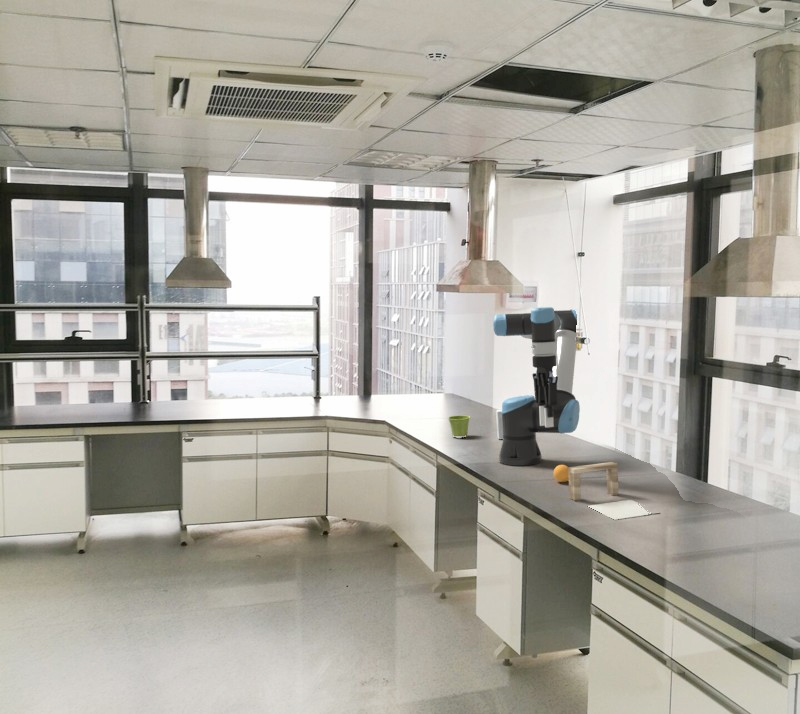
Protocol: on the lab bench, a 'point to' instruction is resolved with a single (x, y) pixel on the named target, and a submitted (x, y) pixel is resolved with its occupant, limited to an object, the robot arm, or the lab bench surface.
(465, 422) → the plant pot
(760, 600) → the lab bench surface
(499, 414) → the skincare box
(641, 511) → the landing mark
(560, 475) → the ball
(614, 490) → the bridge
